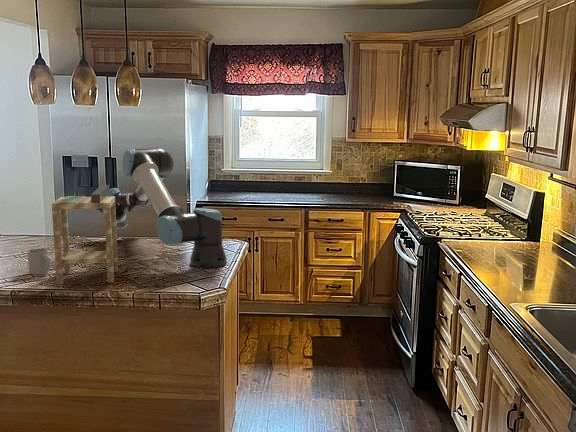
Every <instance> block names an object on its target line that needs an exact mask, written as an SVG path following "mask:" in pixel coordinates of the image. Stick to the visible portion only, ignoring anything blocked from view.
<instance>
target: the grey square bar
mask: <svg viewBox="0 0 576 432" xmlns="http://www.w3.org/2000/svg"><path fill="white" fill-rule="evenodd" d="M109 189H110V184H100V185H99V187H97V188H96V189H95V190H94V191H93V192H92V193H91V194H90V197H91V203H100V202H101V201H102V200H103V199H104V198H105V196H106V195H107V194H108V193H109Z"/></svg>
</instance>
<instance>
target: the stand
mask: <svg viewBox="0 0 576 432" xmlns="http://www.w3.org/2000/svg"><path fill="white" fill-rule="evenodd" d="M98 208H104V210H103V212H104V213H103V214H104V230H105V250H89V251H87V250H86V251H83V250H82V251H81V250H79V251H71V250H70V249H71V248H70V237H69V236H70V234H69V233H70V231H69V218H68V216H69V214H68V210H84V209H85V210H87V209H88V210H89V209H92V210H94V209H95V210H97V209H98ZM51 217H52V229H53V230H52V231H53V245H54V247H53V248H54V262H55V263H54V264H55V276H56V277H55V278H56V285H63V284H64V282H65V280H64V274H65V275H67V274H68V275H69V274H71V273H72V265H71V264H89V263H90V264H95V263H106V272H107V273H106V274H107V276H106V277H107V283H114V282H115V275H114V273H117V272H119V259H118V257H119V256H118V238H117V234H118V233H117V228H116V209H115V196H105V198H104V199H103V200H102V201H101V202H100V203H91V196H83V195H66V196H60V197H59V198H57V199H56V200H54V202H52V203H51ZM60 219H61V220H60ZM62 251H63V252H62Z"/></svg>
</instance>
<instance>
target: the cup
mask: <svg viewBox="0 0 576 432" xmlns="http://www.w3.org/2000/svg"><path fill="white" fill-rule="evenodd" d="M48 253H49V252H48V249H47V248H32V249H28V250H27V262H28V265H27V266H28V273H29V275H31V276H40V275H46V274H48V273H49V271H50V269H51V259H50V257H49V255H48Z"/></svg>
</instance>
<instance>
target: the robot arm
mask: <svg viewBox="0 0 576 432" xmlns="http://www.w3.org/2000/svg"><path fill="white" fill-rule="evenodd" d="M121 162H122V172H123V174H124V176H125V177H132V179H133V180H134V182H136V183H137V184H139V185H138V187H137V188H136V189H135V191H126V192H121V190H120V189H119V188H116V187H113V188H109V193H108V194H107V195H106V196H115V209H116V230H124V229H126V228H127V226H128V225H129V218H128V216H127V212H131V211H132V209H134V208H135V207H145V206H149V205H151V206H152V208H153V209H154V211H155V213H156V215H157V218H156V221H155V230H156V235H157V237H158V239H159V240H160V242H162V243H163V244H165V245H167V246H168V245H169V246H170V245H179V244H184V243H186V244H187V243H191V242H193V249H192V252H191V255H190V258H189V263H190V265H191V266H193V267H195V268H202V269H205V268H206V269H209V268H210V269H212V268H218V267H223V266H226V265H227V261H228V260H227V256H226V252H225V250H224V249H225V248H224V247H223V216H222V212H221V211H220V210H217V209H212V208H204V207H195V208H193V210H192V212H190V213H189V212H188V213H186V211H185V210H184V209H183V207H182V206H180V205H177V204H176V202H175V200H174V199H173V198H172V195H171V194H170V192H169V190H168V189H167V187H166V185H165V183H164V182H163V180H164V179H166V178H168V177H170V175H171V174H172V173H173V170H174V165H175V164H174V158H173V157H172V155H171V153H170V152H169V151H167V150H165V149H163V148H160V147H159V148H158V147H154V148H131V149H127V150H125V151H124V153H123V155H122V161H121ZM96 210H97V211H99V212H101V213H103V212H104V208H98V209H96Z"/></svg>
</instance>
